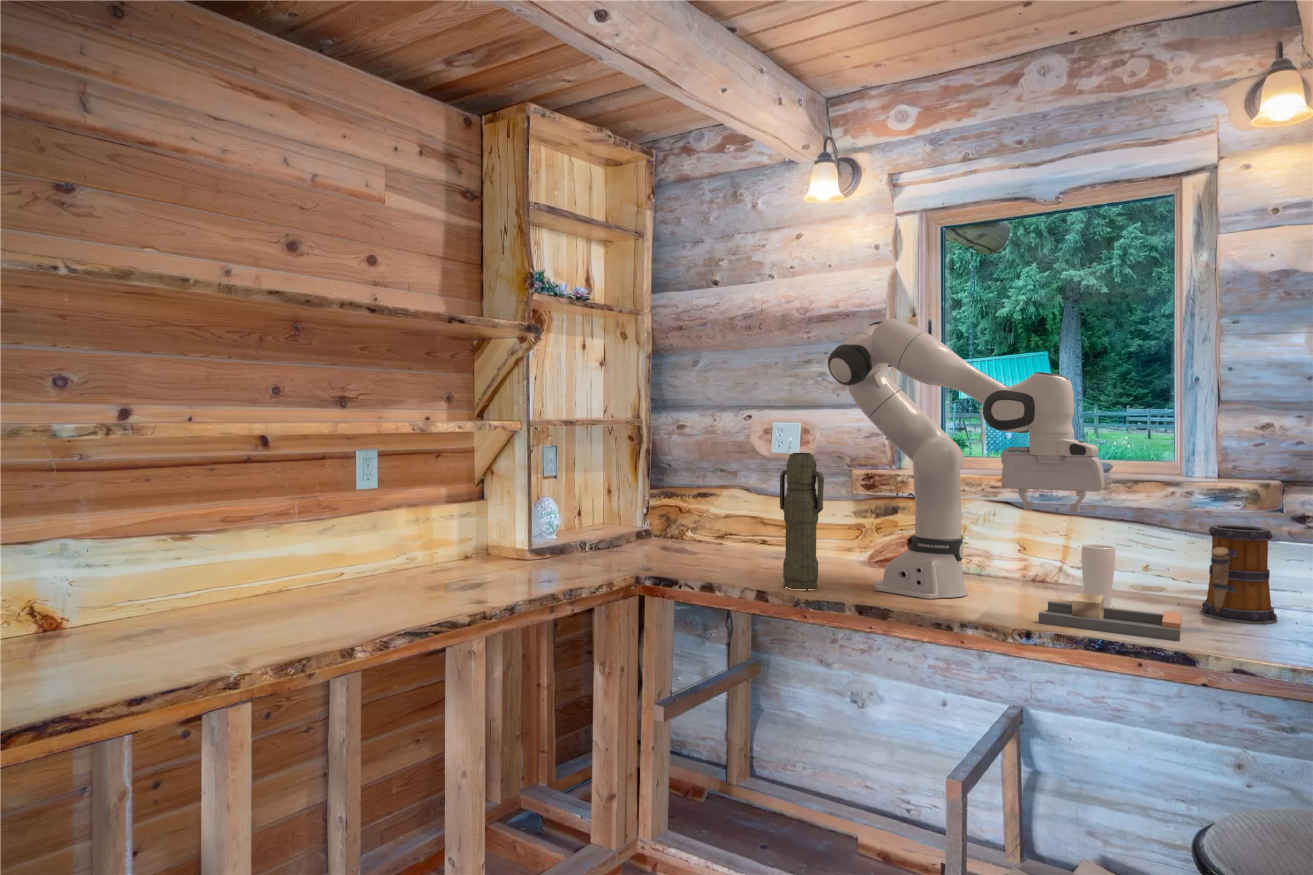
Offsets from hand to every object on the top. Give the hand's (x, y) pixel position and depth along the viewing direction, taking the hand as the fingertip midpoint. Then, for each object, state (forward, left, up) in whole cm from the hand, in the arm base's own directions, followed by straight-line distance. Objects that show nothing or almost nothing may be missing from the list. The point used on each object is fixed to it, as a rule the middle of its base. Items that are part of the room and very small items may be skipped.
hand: (1051, 511), depth 180 cm
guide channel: (+12, -2, -24) cm, 27 cm away
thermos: (-59, +3, -24) cm, 64 cm away
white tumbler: (+8, +17, -24) cm, 31 cm away
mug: (+34, +27, -24) cm, 50 cm away
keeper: (+8, -2, -23) cm, 24 cm away
